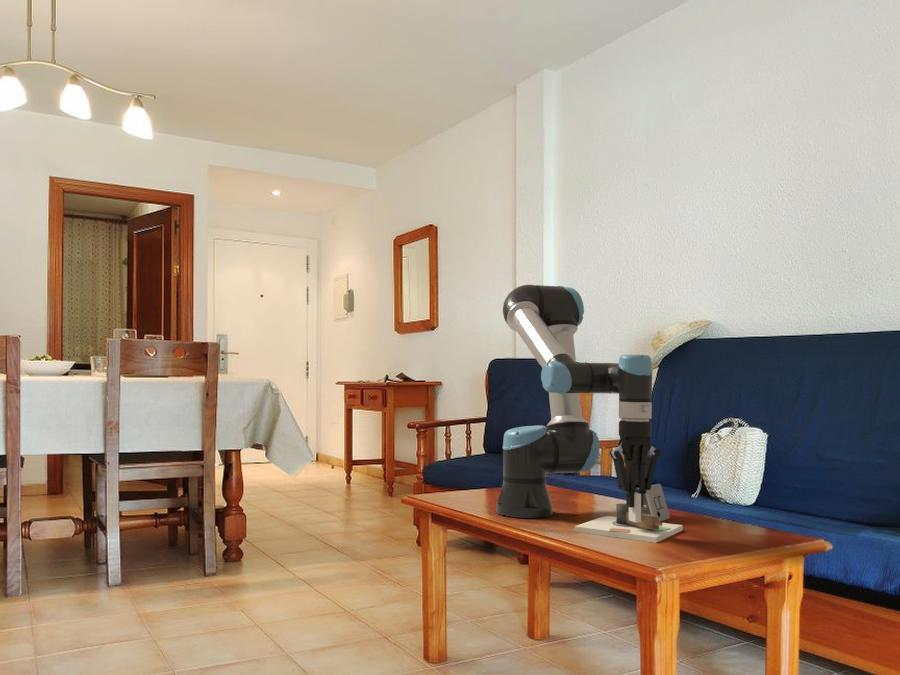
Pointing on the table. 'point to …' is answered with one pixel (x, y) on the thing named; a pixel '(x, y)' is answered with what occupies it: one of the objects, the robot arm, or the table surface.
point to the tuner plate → (627, 530)
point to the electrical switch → (655, 503)
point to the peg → (646, 522)
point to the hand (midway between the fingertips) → (634, 521)
